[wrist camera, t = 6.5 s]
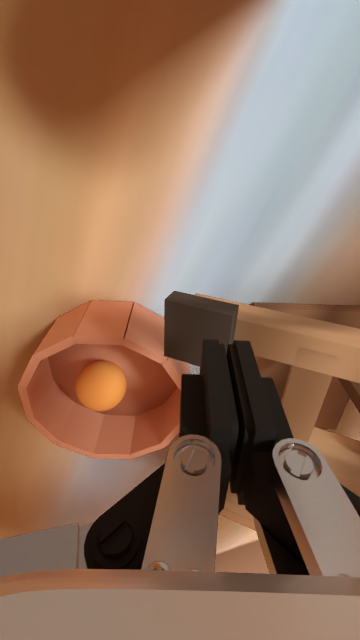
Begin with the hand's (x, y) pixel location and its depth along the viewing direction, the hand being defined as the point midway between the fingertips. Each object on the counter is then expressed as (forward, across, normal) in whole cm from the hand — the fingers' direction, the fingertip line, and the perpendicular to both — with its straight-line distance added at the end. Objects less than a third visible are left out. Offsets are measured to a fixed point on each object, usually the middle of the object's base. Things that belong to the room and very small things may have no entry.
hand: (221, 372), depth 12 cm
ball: (+10, +8, +10) cm, 16 cm away
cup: (+13, +7, +10) cm, 18 cm away
